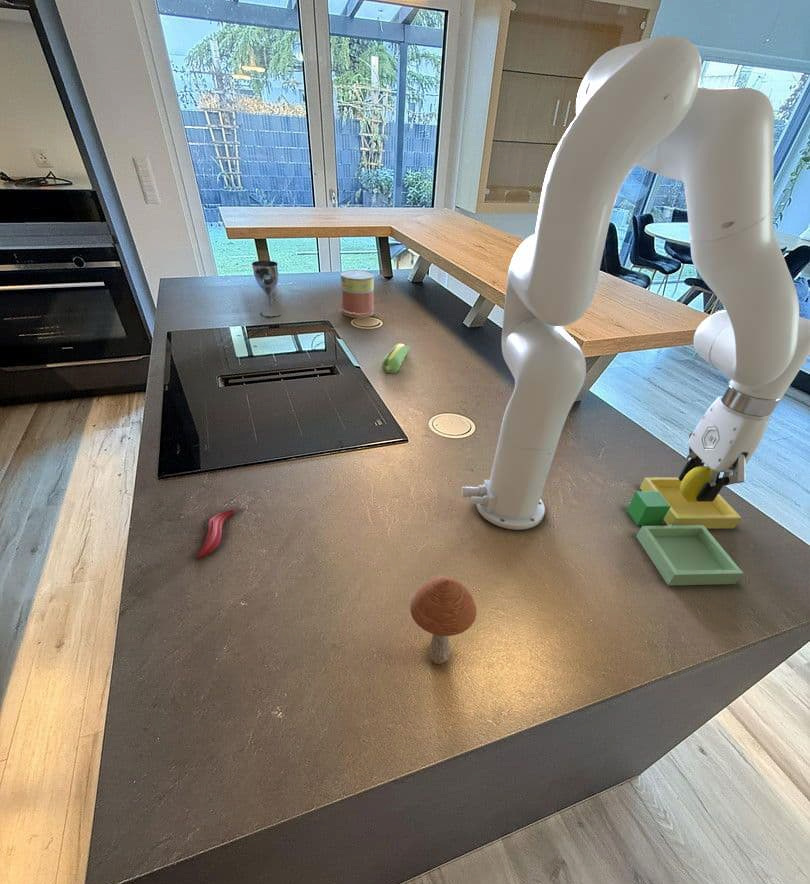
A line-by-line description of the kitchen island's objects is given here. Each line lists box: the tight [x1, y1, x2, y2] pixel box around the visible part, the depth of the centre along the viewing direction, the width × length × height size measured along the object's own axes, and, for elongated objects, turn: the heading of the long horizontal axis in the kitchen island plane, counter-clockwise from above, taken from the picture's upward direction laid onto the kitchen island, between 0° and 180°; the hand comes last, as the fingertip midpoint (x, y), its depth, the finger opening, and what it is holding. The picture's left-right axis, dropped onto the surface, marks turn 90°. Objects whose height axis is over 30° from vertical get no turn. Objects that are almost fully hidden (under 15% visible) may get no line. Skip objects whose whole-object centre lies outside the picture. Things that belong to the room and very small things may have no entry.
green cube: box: [626, 490, 671, 527], centre depth 85 cm, size 4×4×4 cm
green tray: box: [636, 525, 744, 586], centre depth 78 cm, size 12×12×3 cm
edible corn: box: [381, 342, 411, 374], centre depth 131 cm, size 5×20×5 cm, turn 167°
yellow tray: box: [639, 477, 742, 530], centre depth 89 cm, size 13×13×3 cm
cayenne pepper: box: [195, 509, 237, 559], centre depth 76 cm, size 12×5×2 cm, turn 161°
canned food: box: [340, 269, 375, 319], centre depth 159 cm, size 11×11×12 cm
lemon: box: [680, 465, 713, 502], centre depth 86 cm, size 6×6×8 cm
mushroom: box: [409, 575, 477, 665], centre depth 57 cm, size 8×8×15 cm
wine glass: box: [251, 260, 279, 308], centre depth 152 cm, size 8×8×15 cm
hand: (695, 489), depth 87 cm, fingers closed on lemon, 5 cm apart
